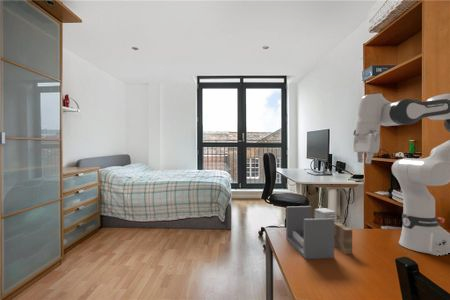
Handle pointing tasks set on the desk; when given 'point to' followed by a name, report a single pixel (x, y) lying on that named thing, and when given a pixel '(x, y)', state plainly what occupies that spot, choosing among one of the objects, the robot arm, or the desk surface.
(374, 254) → the desk surface
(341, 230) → the door panel
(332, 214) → the supplement box
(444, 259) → the desk surface
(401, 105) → the robot arm
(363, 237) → the desk surface
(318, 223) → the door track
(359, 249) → the desk surface
